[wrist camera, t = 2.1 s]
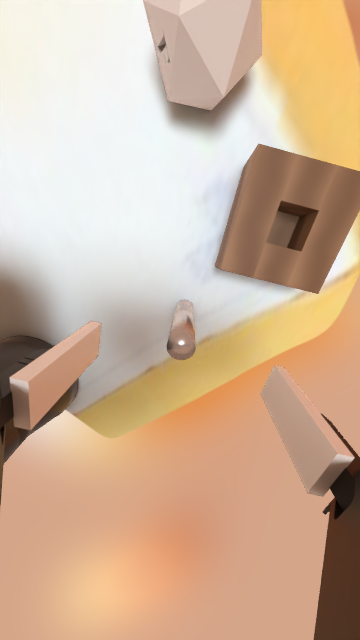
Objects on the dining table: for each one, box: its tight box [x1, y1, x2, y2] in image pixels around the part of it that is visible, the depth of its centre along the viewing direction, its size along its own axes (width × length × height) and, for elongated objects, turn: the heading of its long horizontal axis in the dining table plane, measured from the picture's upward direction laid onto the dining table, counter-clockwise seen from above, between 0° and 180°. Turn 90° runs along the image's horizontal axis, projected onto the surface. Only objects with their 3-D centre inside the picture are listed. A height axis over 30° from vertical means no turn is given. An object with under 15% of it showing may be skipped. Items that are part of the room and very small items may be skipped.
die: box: [143, 0, 262, 110], centre depth 15 cm, size 8×9×10 cm
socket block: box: [215, 144, 360, 294], centre depth 21 cm, size 11×11×5 cm
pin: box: [167, 299, 195, 360], centre depth 22 cm, size 2×2×12 cm
